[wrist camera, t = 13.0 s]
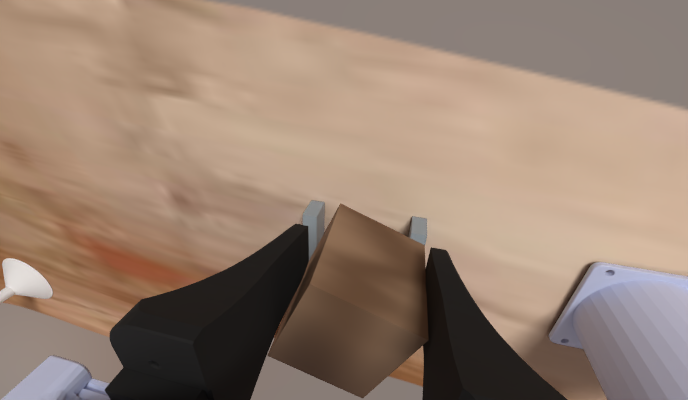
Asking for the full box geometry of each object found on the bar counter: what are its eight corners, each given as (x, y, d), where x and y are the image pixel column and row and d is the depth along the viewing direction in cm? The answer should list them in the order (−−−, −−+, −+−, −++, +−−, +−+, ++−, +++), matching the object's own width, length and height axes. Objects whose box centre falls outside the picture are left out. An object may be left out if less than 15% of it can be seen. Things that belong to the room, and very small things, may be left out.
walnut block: (424, 245, 15) (428, 340, 10) (375, 304, 17) (362, 398, 13) (340, 203, 14) (309, 283, 10) (303, 270, 17) (267, 355, 13)
